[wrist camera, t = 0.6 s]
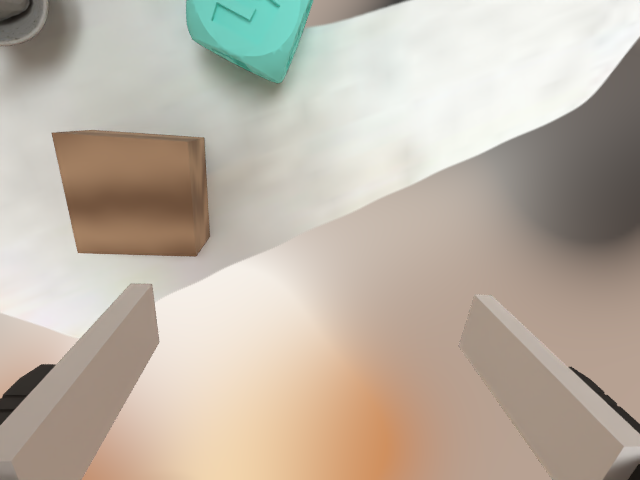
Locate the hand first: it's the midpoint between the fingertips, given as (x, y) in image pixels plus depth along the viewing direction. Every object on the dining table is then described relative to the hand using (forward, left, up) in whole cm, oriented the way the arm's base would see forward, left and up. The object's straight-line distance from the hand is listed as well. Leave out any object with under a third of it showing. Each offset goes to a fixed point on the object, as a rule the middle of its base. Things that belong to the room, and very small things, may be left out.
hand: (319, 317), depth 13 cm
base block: (+1, -16, -25) cm, 29 cm away
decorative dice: (-15, -5, -25) cm, 30 cm away
